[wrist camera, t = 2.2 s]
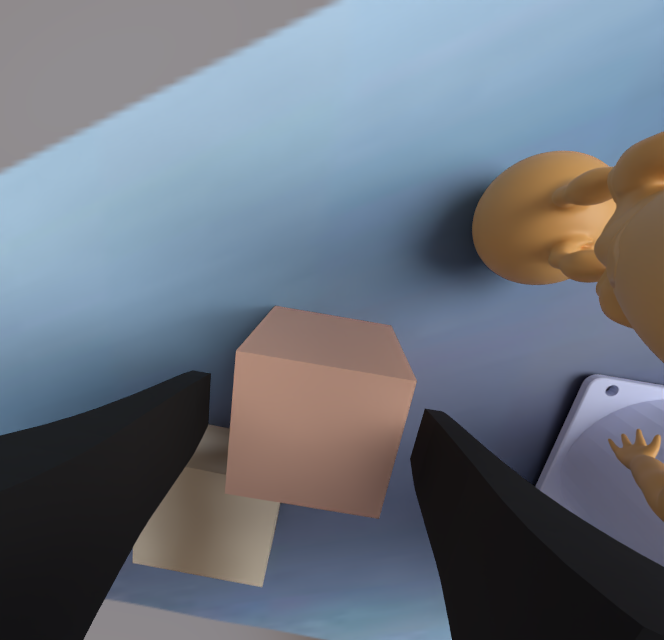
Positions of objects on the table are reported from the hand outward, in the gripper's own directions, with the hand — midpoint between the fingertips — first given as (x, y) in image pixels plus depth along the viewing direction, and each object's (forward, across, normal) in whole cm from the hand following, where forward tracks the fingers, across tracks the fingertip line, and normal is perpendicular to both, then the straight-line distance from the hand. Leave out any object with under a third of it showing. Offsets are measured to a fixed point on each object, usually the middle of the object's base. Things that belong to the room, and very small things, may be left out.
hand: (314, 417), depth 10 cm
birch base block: (+4, +4, +7) cm, 9 cm away
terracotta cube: (+4, 0, 0) cm, 4 cm away
